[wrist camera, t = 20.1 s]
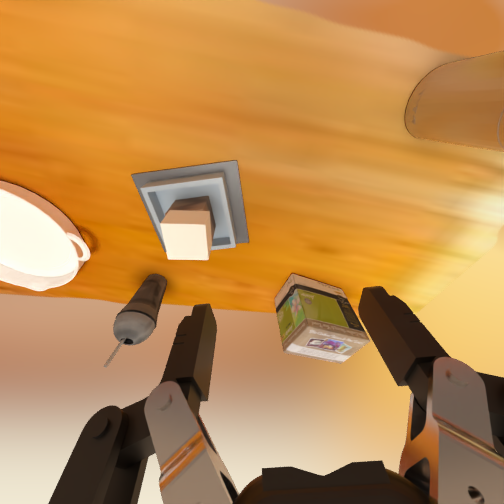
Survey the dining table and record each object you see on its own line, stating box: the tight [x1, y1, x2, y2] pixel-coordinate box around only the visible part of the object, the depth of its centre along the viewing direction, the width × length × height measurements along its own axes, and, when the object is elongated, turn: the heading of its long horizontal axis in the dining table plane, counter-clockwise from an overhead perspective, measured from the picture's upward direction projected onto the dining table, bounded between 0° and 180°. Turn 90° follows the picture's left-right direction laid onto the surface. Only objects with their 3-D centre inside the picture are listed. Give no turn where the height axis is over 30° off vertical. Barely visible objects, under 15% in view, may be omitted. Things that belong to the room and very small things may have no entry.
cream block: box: [160, 210, 212, 260], centre depth 31 cm, size 6×6×4 cm
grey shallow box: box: [131, 160, 249, 252], centre depth 38 cm, size 18×16×4 cm
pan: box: [0, 181, 90, 291], centre depth 39 cm, size 24×27×4 cm
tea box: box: [275, 274, 370, 364], centre depth 47 cm, size 15×10×15 cm
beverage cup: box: [104, 274, 167, 367], centre depth 41 cm, size 7×7×20 cm
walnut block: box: [165, 196, 216, 241], centre depth 36 cm, size 6×6×6 cm
